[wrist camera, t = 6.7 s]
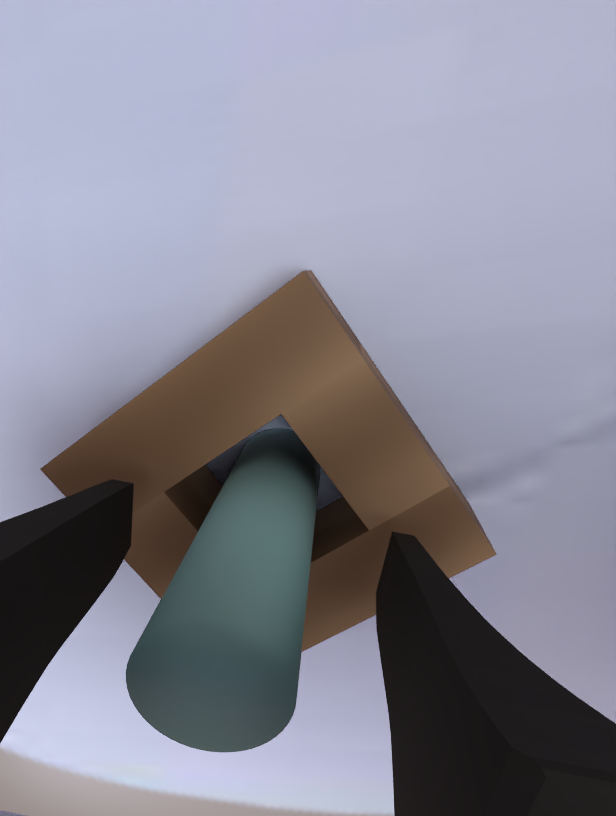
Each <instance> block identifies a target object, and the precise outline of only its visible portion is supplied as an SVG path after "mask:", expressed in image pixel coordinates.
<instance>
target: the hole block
mask: <svg viewBox="0 0 616 816" xmlns="http://www.w3.org/2000/svg"><path fill="white" fill-rule="evenodd" d="M280 414H282V416H283V417H284V418H285V420H286V421H287V422H288V424H289V425H290V426H291V428H292V429H293V430H294V432H295V433H296V434H297V436H298V437H299V438H300V440H301V441H302V442H303V443H304V445H305V446H306V447H307V449H308V450H309V451H310V453H311V454H312V455H313V457H314V458H315V459H316V461H317V462H318V463H319V465H320V466H321V467H322V469H323V470H324V471H325V473H326V474H327V475H328V477H329V478H330V479H331V481H332V482H333V483H334V485H335V486H336V487H337V489H338V490H339V491H340V493H341V494H342V495H343V497H341V498H340V499H338V500H336V501H335V502H333V503H331V504H329V505H328V506H326V507H324V508H323V509H321V510H319V511H318V512H316V517H315V527H314V536H313V546H312V555H311V565H310V574H309V584H308V593H307V603H306V612H305V622H304V631H303V641H302V650H301V652H302V651H304V650H306V649H308V648H310V647H312V646H314V645H316V644H318V643H320V642H322V641H324V640H326V639H328V638H330V637H332V636H334V635H336V634H338V633H340V632H342V631H344V630H346V629H348V628H350V627H352V626H354V625H356V624H358V623H360V622H362V621H364V620H366V619H368V618H370V617H372V616H374V615H376V590H377V587H378V583H379V579H380V575H381V571H382V568H383V564H384V560H385V556H386V553H387V549H388V545H389V541H390V537H391V534H392V532H397V533H403V534H408V535H414V536H415V537H416V538H417V539H418V541H419V542H420V543H421V544H422V546H423V547H424V548H425V549H426V551H427V552H428V553H429V555H430V556H431V557H432V558H433V560H434V561H435V562H436V564H437V565H438V566H439V567H440V569H441V570H442V571H443V572H444V574H445V575H446V576H447V577H448V578H450V577H452V576H454V575H456V574H458V573H460V572H462V571H464V570H466V569H468V568H470V567H472V566H474V565H476V564H478V563H480V562H482V561H484V560H486V559H488V558H490V557H492V556H494V555H496V552H495V551H494V549H493V547H492V545H491V543H490V541H489V539H488V538H487V536H486V534H485V532H484V530H483V528H482V526H481V525H480V523H479V521H478V519H477V517H476V515H475V514H474V512H473V510H472V508H471V506H470V504H469V503H468V501H467V500H466V498H465V497H464V495H463V494H462V492H461V491H460V489H459V488H458V486H457V485H456V483H455V482H454V480H453V479H452V477H451V476H450V475H449V473H448V472H447V470H446V469H445V467H444V466H443V464H442V463H441V461H440V460H439V458H438V457H437V455H436V454H435V452H434V451H433V449H432V448H431V446H430V445H429V444H428V442H427V441H426V439H425V438H424V436H423V435H422V433H421V432H420V430H419V429H418V427H417V426H416V424H415V423H414V421H413V420H412V418H411V417H410V415H409V414H408V413H407V411H406V410H405V408H404V407H403V405H402V404H401V402H400V401H399V399H398V398H397V396H396V395H395V393H394V392H393V390H392V389H391V387H390V386H389V384H388V383H387V382H386V380H385V379H384V377H383V376H382V374H381V373H380V371H379V370H378V368H377V367H376V365H375V364H374V362H373V361H372V359H371V358H370V356H369V355H368V353H367V352H366V350H365V349H364V348H363V346H362V345H361V343H360V342H359V340H358V339H357V337H356V336H355V334H354V333H353V331H352V330H351V328H350V327H349V325H348V324H347V322H346V321H345V319H344V318H343V317H342V315H341V314H340V312H339V311H338V309H337V308H336V306H335V305H334V303H333V302H332V300H331V299H330V297H329V296H328V294H327V293H326V291H325V290H324V288H323V287H322V286H321V284H320V283H319V281H318V280H317V278H316V277H315V275H314V274H313V272H312V271H311V270H310V271H303V272H301V273H300V274H299V275H297V276H296V277H295V278H293V279H292V280H291V281H289V282H288V283H287V284H285V285H284V286H283V287H281V288H280V289H279V290H277V291H276V292H275V293H273V294H272V295H271V296H270V297H268V298H267V299H266V300H264V301H263V302H262V303H260V304H259V305H258V306H256V307H255V308H254V309H252V310H251V311H250V312H248V313H247V314H246V315H244V316H243V317H242V318H240V319H239V320H238V321H236V322H235V323H234V324H232V325H231V326H230V327H228V328H227V329H226V330H224V331H223V332H222V333H220V334H219V335H218V336H216V337H215V338H214V339H212V340H211V341H210V342H208V343H207V344H206V345H204V346H203V347H202V348H200V349H199V350H198V351H196V352H195V353H194V354H192V355H191V356H190V357H188V358H187V359H186V360H184V361H183V362H182V363H180V364H179V365H178V366H176V367H175V368H174V369H172V370H171V371H170V372H168V373H167V374H166V375H164V376H163V377H162V378H161V379H159V380H158V381H157V382H155V383H154V384H153V385H151V386H150V387H149V388H147V389H146V390H145V391H143V392H142V393H141V394H139V395H138V396H137V397H135V398H134V399H133V400H131V401H130V402H129V403H127V404H126V405H125V406H123V407H122V408H121V409H119V410H118V411H117V412H115V413H114V414H113V415H111V416H110V417H109V418H107V419H106V420H105V421H103V422H102V423H101V424H99V425H98V426H97V427H95V428H94V429H93V430H91V431H90V432H89V433H87V434H86V435H85V436H83V437H82V438H81V439H79V440H78V441H77V442H75V443H74V444H73V445H71V446H70V447H69V448H67V449H66V450H65V451H63V452H62V453H61V454H59V455H58V456H57V457H55V458H54V459H53V460H52V461H50V462H49V463H48V464H46V465H45V466H44V467H42V468H41V471H42V472H43V473H44V474H45V475H46V476H47V477H48V478H49V479H50V480H51V481H52V482H53V483H54V484H55V486H56V487H57V488H58V489H59V490H60V491H61V492H62V493H63V494H64V495H65V496H66V497H68V496H70V495H73V494H75V493H77V492H80V491H82V490H85V489H87V488H90V487H92V486H95V485H97V484H100V483H102V482H105V481H108V480H112V479H114V480H119V481H124V482H130V483H134V490H133V513H132V535H131V547H130V549H129V550H128V552H127V554H126V556H125V558H124V560H125V561H126V562H127V563H128V564H129V565H130V566H131V567H132V568H133V569H134V570H135V571H136V573H137V574H138V575H139V576H140V577H141V578H142V579H143V580H144V581H145V582H146V583H147V584H148V585H149V586H150V588H151V589H152V590H153V591H154V592H155V593H156V594H157V595H158V596H159V597H160V598H161V599H162V597H163V595H164V593H165V591H166V590H167V588H168V586H169V584H170V582H171V580H172V579H173V577H174V575H175V573H176V571H177V569H178V568H179V566H180V564H181V562H182V560H183V558H184V557H185V555H186V553H187V551H188V549H189V547H190V546H191V544H192V542H193V540H194V538H195V536H196V535H197V533H198V531H199V529H200V527H201V525H202V524H203V522H204V520H205V518H206V516H207V514H208V513H209V511H210V509H211V507H212V505H213V503H214V502H215V500H216V498H217V496H218V494H219V492H220V491H221V489H222V487H223V486H222V485H221V483H220V482H219V481H218V480H217V479H216V477H215V476H214V475H213V474H212V473H211V471H210V470H209V469H208V468H207V466H206V465H205V464H207V463H208V462H210V461H211V460H213V459H214V458H216V457H217V456H219V455H220V454H222V453H223V452H225V451H226V450H228V449H229V448H231V447H232V446H234V445H235V444H237V443H238V442H240V441H241V440H243V439H244V438H246V437H247V436H249V435H250V434H252V433H253V432H255V431H256V430H258V429H259V428H261V427H262V426H264V425H265V424H267V423H268V422H270V421H271V420H273V419H274V418H276V417H277V416H279V415H280Z"/></svg>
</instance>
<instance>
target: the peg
mask: <svg viewBox="0 0 616 816" xmlns="http://www.w3.org/2000/svg"><path fill="white" fill-rule="evenodd" d="M319 479H320V465H319V463H318V462H317V461H316V459H315V458H314V457H313V455H312V454H311V453H310V451H309V450H308V449H307V447H306V446H305V445H304V443H303V442H302V441H301V440H300V438H299V437H298V436H297V434H296V433H295V432H294V431H291V430H287V429H269V430H265V431H263V432H260V433H258V434H256V435H255V436H254V437H252V438H251V439H250V440H249V441H248V442H247V444H246V445H245V447H244V448H243V450H242V452H241V454H240V456H239V458H238V459H237V461H236V463H235V465H234V467H233V469H232V470H231V472H230V474H229V476H228V478H227V480H226V481H225V483H224V485H223V487H222V489H221V491H220V492H219V494H218V496H217V498H216V500H215V502H214V503H213V505H212V507H211V509H210V511H209V513H208V514H207V516H206V518H205V520H204V522H203V524H202V525H201V527H200V529H199V531H198V533H197V535H196V536H195V538H194V540H193V542H192V544H191V546H190V547H189V549H188V551H187V553H186V555H185V557H184V558H183V560H182V562H181V564H180V566H179V568H178V569H177V571H176V573H175V575H174V577H173V579H172V580H171V582H170V584H169V586H168V588H167V590H166V591H165V593H164V595H163V597H162V599H161V601H160V603H159V604H158V606H157V608H156V610H155V612H154V614H153V615H152V617H151V619H150V621H149V623H148V625H147V626H146V628H145V630H144V632H143V634H142V636H141V637H140V639H139V641H138V643H137V645H136V647H135V648H134V650H133V652H132V654H131V656H130V658H129V661H128V664H127V669H126V683H127V689H128V692H129V695H130V698H131V700H132V702H133V704H134V706H135V707H136V709H137V710H138V712H139V713H140V714H141V715H142V717H143V718H144V719H145V720H146V721H147V722H148V723H149V724H150V725H151V726H152V727H154V728H155V729H156V730H158V731H159V732H160V733H162V734H163V735H165V736H167V737H168V738H170V739H172V740H174V741H176V742H178V743H181V744H183V745H186V746H189V747H192V748H196V749H200V750H205V751H211V752H236V751H243V750H248V749H252V748H255V747H258V746H260V745H262V744H264V743H266V742H268V741H270V740H272V739H273V738H274V737H276V736H277V735H278V734H279V733H280V732H282V731H283V730H284V728H285V727H286V726H287V724H288V723H289V721H290V719H291V718H292V716H293V713H294V710H295V705H296V698H297V688H298V679H299V669H300V660H301V650H302V641H303V631H304V622H305V612H306V603H307V593H308V584H309V574H310V565H311V555H312V546H313V536H314V527H315V517H316V508H317V498H318V489H319Z"/></svg>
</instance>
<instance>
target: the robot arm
mask: <svg viewBox="0 0 616 816" xmlns="http://www.w3.org/2000/svg"><path fill="white" fill-rule="evenodd" d="M133 490H134V483H130V482H124V481H119V480H114V479H112V480H108V481H105V482H102V483H100V484H97V485H95V486H92V487H90V488H87V489H85V490H82V491H80V492H77V493H75V494H73V495H70V496H68V497H65V498H63V499H60V500H58V501H56V502H53V503H51V504H48V505H46V506H43V507H41V508H38V509H35V510H33V511H30V512H27V513H24V514H22V515H19V516H16V517H14V518H11V519H8V520H5V521H3V522H0V743H1V741H2V740H3V738H4V736H5V734H6V733H7V731H8V729H9V728H10V726H11V724H12V723H13V721H14V719H15V718H16V716H17V714H18V712H19V711H20V709H21V707H22V706H23V704H24V703H25V701H26V699H27V698H28V696H29V695H30V693H31V691H32V690H33V688H34V686H35V685H36V683H37V682H38V680H39V678H40V677H41V675H42V674H43V672H44V670H45V669H46V667H47V666H48V664H49V663H50V661H51V660H52V659H53V657H54V656H55V654H56V653H57V651H58V650H59V649H60V647H61V646H62V645H63V643H64V642H65V641H66V639H67V638H68V637H69V636H70V634H71V633H72V632H73V630H74V629H75V628H76V626H77V625H78V624H79V622H80V621H81V620H82V618H83V617H84V616H85V614H86V613H87V612H88V611H89V609H90V608H91V607H92V605H93V604H94V603H95V601H96V600H97V599H98V597H99V596H100V595H101V593H102V592H103V591H104V589H105V588H106V587H107V585H108V584H109V582H110V581H111V580H112V578H113V577H114V575H115V573H116V572H117V570H118V568H119V567H120V565H121V563H122V561H123V560H124V558H125V556H126V554H127V552H128V550H129V549H130V547H131V535H132V513H133ZM376 624H377V635H378V642H379V649H380V657H381V664H382V670H383V677H384V684H385V691H386V698H387V705H388V712H389V721H390V730H391V745H392V764H393V785H394V812H395V816H616V724H615V723H614V722H612V721H611V720H609V719H608V718H606V717H605V716H604V715H602V714H601V713H599V712H598V711H596V710H595V709H593V708H592V707H591V706H589V705H588V704H586V703H585V702H583V701H582V700H581V699H579V698H578V697H576V696H575V695H574V694H572V693H571V692H570V691H568V690H567V689H566V688H564V687H563V686H562V685H560V684H559V683H558V682H556V681H555V680H554V679H552V678H551V677H550V676H549V675H547V674H546V673H545V672H544V671H543V670H541V669H540V668H539V667H538V666H536V665H535V664H534V663H533V662H531V661H530V660H529V659H528V658H527V657H525V656H524V655H523V654H522V653H521V652H520V651H518V650H517V649H516V648H515V647H514V646H513V645H512V644H511V643H510V642H509V641H507V640H506V639H505V638H504V637H503V636H502V635H501V634H500V633H499V632H498V631H497V630H496V629H495V628H493V627H492V626H491V625H490V624H489V623H488V622H487V621H486V620H485V619H484V618H483V616H482V615H481V614H480V613H479V612H478V611H477V610H476V609H475V608H474V607H473V606H472V605H471V604H470V603H469V601H468V600H467V599H466V598H465V597H464V596H463V595H462V594H461V593H460V591H459V590H458V589H457V588H456V587H455V586H454V584H453V583H452V582H451V581H450V580H449V578H448V577H447V576H446V575H445V574H444V572H443V571H442V570H441V569H440V567H439V566H438V565H437V564H436V562H435V561H434V560H433V558H432V557H431V556H430V555H429V553H428V552H427V551H426V549H425V548H424V547H423V546H422V544H421V543H420V542H419V541H418V539H417V538H416V537H415V536H414V535H408V534H403V533H397V532H392V534H391V537H390V541H389V545H388V549H387V553H386V556H385V560H384V564H383V568H382V571H381V575H380V579H379V583H378V587H377V590H376ZM0 816H26V815H21V814H16V813H11V812H6V811H1V810H0Z"/></svg>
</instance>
